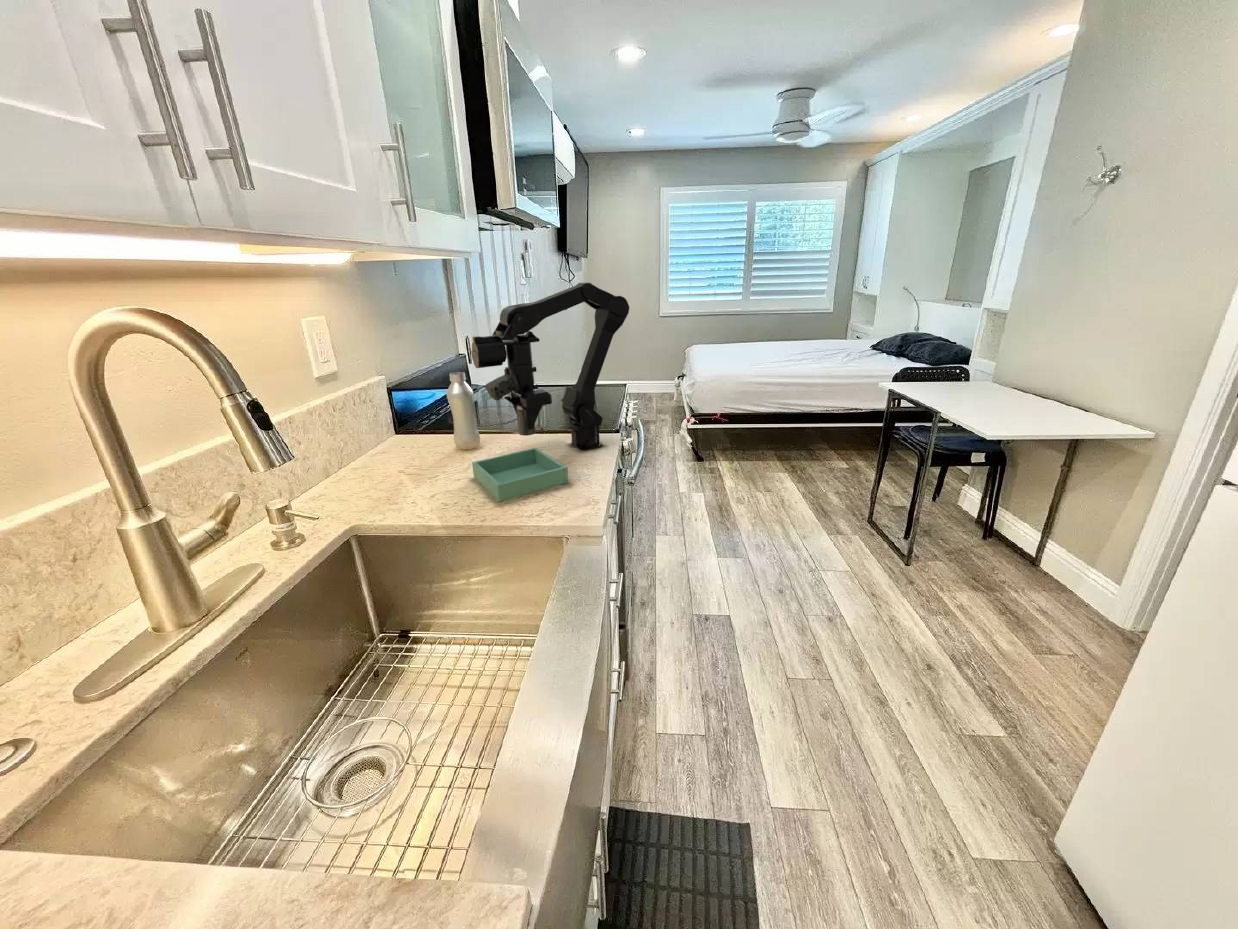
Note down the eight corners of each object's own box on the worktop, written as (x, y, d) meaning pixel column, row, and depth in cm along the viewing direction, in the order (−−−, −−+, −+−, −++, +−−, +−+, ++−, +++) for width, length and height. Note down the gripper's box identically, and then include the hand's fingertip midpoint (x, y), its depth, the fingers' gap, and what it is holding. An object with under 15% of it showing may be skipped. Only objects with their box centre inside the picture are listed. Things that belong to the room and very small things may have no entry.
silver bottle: (474, 452, 127) (463, 376, 119) (450, 451, 128) (438, 375, 121) (485, 444, 133) (475, 370, 125) (462, 443, 134) (451, 370, 127)
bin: (537, 464, 118) (536, 447, 117) (568, 485, 106) (567, 467, 105) (474, 480, 110) (471, 462, 109) (500, 505, 98) (497, 485, 97)
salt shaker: (531, 429, 123) (528, 402, 120) (538, 433, 119) (535, 405, 117) (516, 432, 120) (513, 405, 118) (522, 436, 117) (519, 408, 115)
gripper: (472, 361, 117) (481, 424, 123) (502, 373, 102) (510, 444, 108) (516, 356, 122) (522, 416, 128) (550, 366, 108) (555, 434, 114)
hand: (526, 427), depth 119 cm, fingers closed on salt shaker, 4 cm apart
